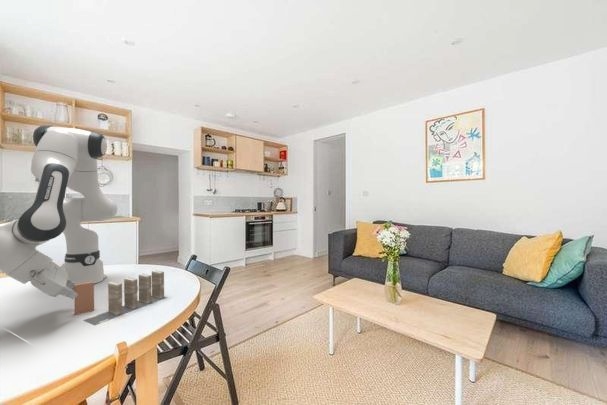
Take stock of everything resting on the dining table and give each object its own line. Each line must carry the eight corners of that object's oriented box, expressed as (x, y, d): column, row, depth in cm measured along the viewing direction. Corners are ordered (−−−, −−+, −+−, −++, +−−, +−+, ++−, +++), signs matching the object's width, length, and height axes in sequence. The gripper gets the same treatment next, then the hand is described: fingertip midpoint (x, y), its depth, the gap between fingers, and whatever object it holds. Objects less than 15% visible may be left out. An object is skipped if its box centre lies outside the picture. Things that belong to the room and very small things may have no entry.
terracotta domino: (74, 314, 85) (74, 284, 85) (94, 309, 88) (93, 281, 88) (74, 315, 84) (74, 285, 84) (94, 311, 87) (93, 282, 87)
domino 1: (117, 315, 83) (116, 285, 83) (108, 312, 86) (108, 282, 85) (122, 313, 85) (122, 283, 85) (113, 310, 87) (113, 281, 87)
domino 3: (147, 303, 92) (147, 276, 92) (138, 301, 95) (138, 274, 94) (151, 302, 94) (151, 275, 94) (143, 299, 96) (142, 273, 96)
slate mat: (82, 321, 80) (82, 319, 80) (155, 295, 102) (155, 294, 102) (94, 326, 77) (94, 324, 77) (167, 298, 99) (167, 297, 99)
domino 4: (160, 299, 97) (160, 272, 97) (151, 296, 99) (151, 271, 99) (164, 297, 98) (163, 271, 98) (155, 295, 101) (155, 270, 100)
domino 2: (132, 309, 88) (132, 280, 88) (124, 306, 90) (124, 278, 90) (137, 307, 89) (137, 279, 89) (129, 304, 92) (128, 277, 91)
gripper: (39, 266, 72) (85, 292, 78) (47, 254, 87) (85, 277, 94) (15, 285, 69) (65, 311, 75) (28, 270, 84) (68, 292, 91)
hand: (76, 292), depth 85 cm, fingers open, 8 cm apart
